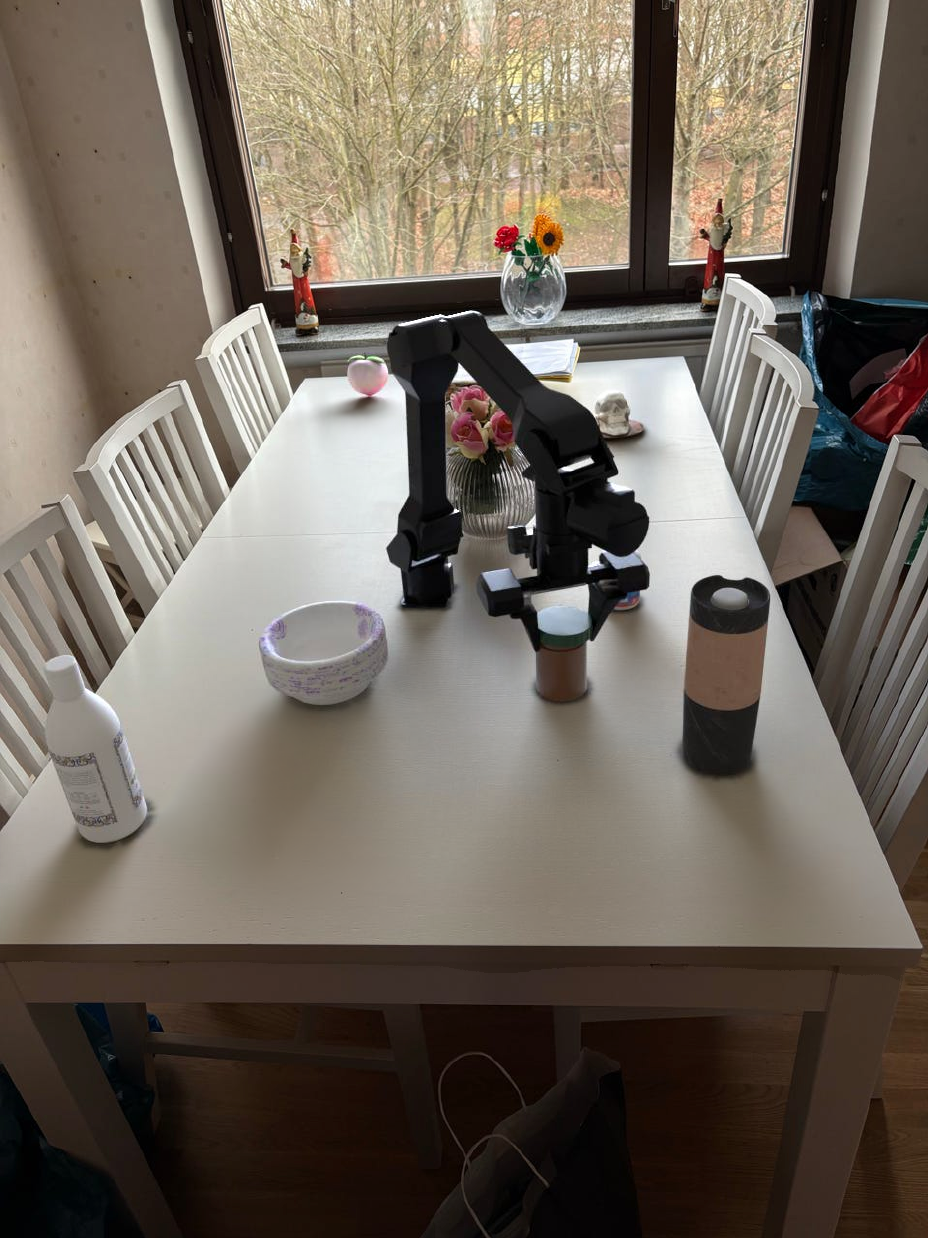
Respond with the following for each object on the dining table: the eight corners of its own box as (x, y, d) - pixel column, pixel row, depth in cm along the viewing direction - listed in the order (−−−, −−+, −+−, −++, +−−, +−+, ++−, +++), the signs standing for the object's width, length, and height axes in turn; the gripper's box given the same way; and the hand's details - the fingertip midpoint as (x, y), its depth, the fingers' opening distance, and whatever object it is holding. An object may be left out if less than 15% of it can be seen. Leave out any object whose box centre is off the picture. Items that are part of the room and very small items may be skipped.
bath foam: (124, 790, 104) (73, 635, 94) (161, 816, 100) (112, 657, 90) (67, 826, 100) (6, 668, 89) (103, 855, 96) (43, 693, 85)
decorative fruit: (345, 402, 213) (338, 358, 208) (354, 391, 220) (349, 347, 215) (385, 402, 212) (380, 357, 206) (394, 390, 218) (389, 347, 213)
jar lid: (604, 631, 111) (604, 619, 110) (565, 655, 107) (566, 642, 106) (559, 611, 115) (559, 599, 114) (521, 633, 111) (520, 621, 110)
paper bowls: (257, 670, 123) (245, 617, 118) (369, 639, 127) (362, 587, 123) (286, 735, 110) (274, 679, 106) (409, 698, 115) (402, 643, 111)
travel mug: (711, 787, 98) (726, 620, 88) (665, 747, 104) (673, 587, 94) (768, 761, 101) (789, 597, 91) (720, 724, 107) (734, 566, 96)
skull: (654, 433, 181) (619, 397, 177) (613, 470, 185) (578, 435, 181) (643, 410, 191) (609, 376, 187) (605, 445, 195) (570, 412, 191)
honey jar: (545, 705, 112) (543, 645, 108) (530, 678, 117) (528, 619, 113) (593, 696, 113) (594, 636, 109) (577, 669, 118) (576, 610, 114)
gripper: (615, 482, 112) (613, 598, 120) (461, 508, 109) (469, 624, 117) (654, 521, 102) (648, 643, 110) (485, 550, 99) (493, 673, 107)
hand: (563, 644), depth 111 cm, fingers closed on jar lid, 6 cm apart
